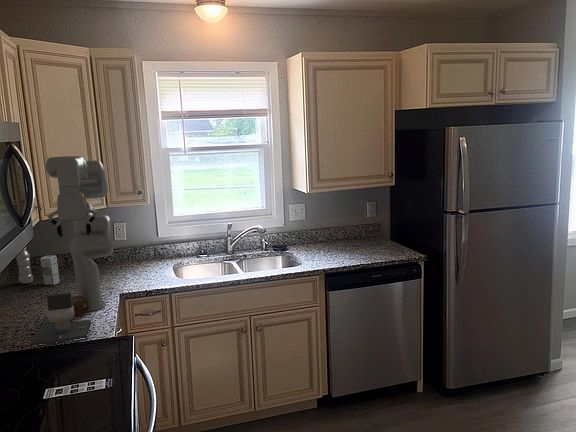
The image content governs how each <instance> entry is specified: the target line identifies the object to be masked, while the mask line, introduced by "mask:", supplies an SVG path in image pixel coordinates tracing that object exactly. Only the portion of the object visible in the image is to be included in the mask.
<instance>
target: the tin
mask: <svg viewBox="0 0 576 432" xmlns="http://www.w3.org/2000/svg"><path fill="white" fill-rule="evenodd" d="M71 297H72V305H73V306H74V314H75V317H74V318H77V317H78V318H79V317H82V316H84V315H86V314H87V311H88V308H89V303H88V301H87V299H86V298H84V297H82V296H77V295H75V296H71Z"/></svg>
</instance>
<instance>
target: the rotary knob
mask: <svg viewBox="0 0 576 432" xmlns="http://www.w3.org/2000/svg"><path fill="white" fill-rule="evenodd" d="M72 297H73V296H72V292H71V291H68V292H60V293H51V294H47V295H46V301H47V310H46V311H47V318H48V323H51V324H55V323H61V322H66V321H69V322H70V321H71V320H74V319H75V318H76V317H75V314H74V306H73V305H72Z"/></svg>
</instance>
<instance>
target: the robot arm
mask: <svg viewBox="0 0 576 432" xmlns="http://www.w3.org/2000/svg"><path fill="white" fill-rule="evenodd" d="M45 170H46V172H47V174H48V176H49V177H50V178H54V179H57V182H58V183H57V185H58V192H59V194H58V195H57V198H56V199H57V202H56V205H57V206H56V209H57V210H55V211H53V212H51V213H49V214H48V215H47V216H46V217H47V219H48V220H49V221H50V223H52V224H53V226H55V227H56V233H57V235H58V236H59V238H62V237H63V226H62V223H63V222H72V221H73V231H74V234H75V236H76V237H75V238H72V239H71V241H70V242H69V250H70V254H71V255H70V256H71V259H72V262H73V269H74V276H75V277H74V278H75V279H74V280H75V285H76V287H75V288H76V296H82V297H84V298H86V299H87V301H88V303H89V308H88V311H87V312H89V313H90V312H95V311H98V310H101V309H103V308H104V307H106V306H107V305H106V301H104V300H102V296H101V295H102V293H101V283H100V274H99V273H100V272H99V267H98V263H96V262H95V261H94V258H104V257H110V256H111V255H112V254H113V253H114V249H115V248H114V228H113V227H114V226H113V221H112V219H111V217H110V216H109V215H106V214H104V215H103V214H100V215H99V214H98V211H97V210H95V208H94V206H93V205H91V203H90V202H88V201H87V200H86V199H98V198H104V197H106V196H107V195H108V191H109V186H108V181H107V175H106V171H105V168H104V165H103V163H102V162H101V161H100V160H98V159H97V160H85V159H84V157H82V156H78V155H72V156H71V155H70V156H66V155H65V156H51V157H48V158H47V160H46V162H45ZM97 214H98V215H97ZM56 215H57V219H58V220H56V219H55V218H54V216H56ZM87 312H86V313H87Z"/></svg>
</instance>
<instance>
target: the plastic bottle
mask: <svg viewBox="0 0 576 432" xmlns="http://www.w3.org/2000/svg"><path fill="white" fill-rule="evenodd" d="M15 259H16V263H17V267H18V282H19V283H20V284H23V285H27V284H30V283H32V282H33V281H34V276H33V274H32V269H31V254H30V253H29V251H27V246H26V247H25V248H24V249H23V250H22V251H21V252H20V254H18V256H17V257H16V256H15Z"/></svg>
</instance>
